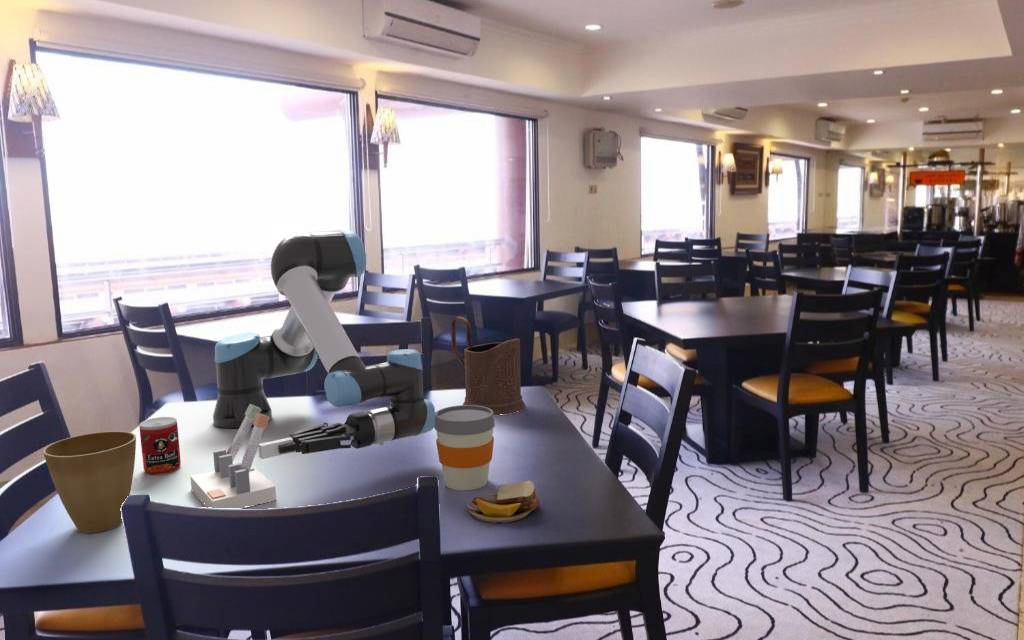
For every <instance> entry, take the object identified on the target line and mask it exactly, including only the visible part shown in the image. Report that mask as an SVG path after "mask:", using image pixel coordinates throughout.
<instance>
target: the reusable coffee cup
mask: <svg viewBox="0 0 1024 640" xmlns="http://www.w3.org/2000/svg"><path fill="white" fill-rule="evenodd" d="M435 412H436V413H435V424H434V428H433V429H434V430H435V431H436V436H437V438H436V440H435V441H436V448H437V454H438V461H439V463H440V464H441V465H442V466H441V467H442V472H443V479H444V484H445V486H446V487H447V488H450V489H452V490H456V491H472V490H477V489H480V488H483V487H484V486H486V485H487V484H488V482H489V481H488V480H489V471H490V462H491V461H493V451H494V443H495V438H494V436H493V432H494V428H495V426H496V422H495V416H494V414H493V411H492V410H491V409H490V408H487V407H483V406H476V405H463V404H461V405H452V406H447V407H444V408H441V409H438V410H437V411H435Z"/></svg>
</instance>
